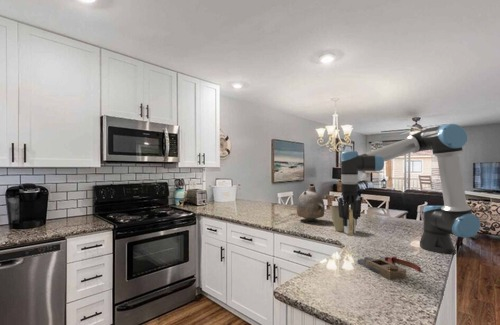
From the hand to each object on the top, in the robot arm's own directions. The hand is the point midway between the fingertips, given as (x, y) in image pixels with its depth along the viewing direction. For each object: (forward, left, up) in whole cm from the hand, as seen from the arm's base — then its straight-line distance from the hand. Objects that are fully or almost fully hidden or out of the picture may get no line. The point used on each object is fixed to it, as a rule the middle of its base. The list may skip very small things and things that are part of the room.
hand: (349, 232), depth 123 cm
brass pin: (0, 0, -1) cm, 1 cm away
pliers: (-16, +13, -13) cm, 24 cm away
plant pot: (-30, -46, -12) cm, 56 cm away
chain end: (-3, +13, -12) cm, 18 cm away
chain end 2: (-3, +18, -12) cm, 22 cm away
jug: (-25, -78, -12) cm, 83 cm away
